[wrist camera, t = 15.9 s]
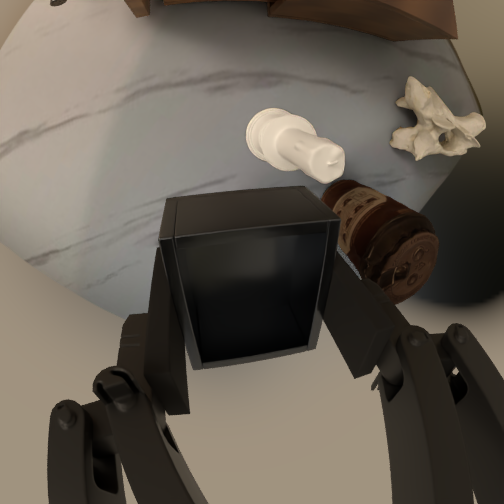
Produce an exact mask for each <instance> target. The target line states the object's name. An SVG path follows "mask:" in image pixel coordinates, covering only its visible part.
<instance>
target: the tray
mask: <svg viewBox="0 0 504 504" xmlns="http://www.w3.org/2000/svg"><path fill="white" fill-rule="evenodd" d="M340 225H341V218H340V217H339V216H338V215H337V214H336V213H334V212H333V211H332V210H331V209H330V208H329V207H328V206H327V205H326V204H325V203H323V202H322V201H321V200H320V199H319V198H318V197H317V196H316V195H314V194H313V193H312V192H311V191H310V190H309V189H308V188H306V187H305V186H290V187H274V188H260V189H248V190H236V191H226V192H216V193H207V194H198V195H189V196H181V197H173V198H167V199H166V203H165V207H164V212H163V217H162V222H161V227H160V232H159V238H158V241H159V246H160V251H161V255H162V260H163V264H164V269H165V273H166V277H167V281H168V285H169V289H170V292H171V296H172V300H173V303H174V307H175V311H176V314H177V318H178V322H179V325H180V329H181V332H182V335H183V339H184V342H185V346H186V349H187V353H188V356H189V359H190V362H191V365H192V368H193V370H200V369H203V368H204V369H209V368H216V367H224V366H230V365H237V364H243V363H249V362H255V361H260V360H266V359H271V358H276V357H281V356H286V355H291V354H295V353H300V352H304V351H306V350H307V351H309V350H313V349H316V345H317V341H318V337H319V333H320V329H321V325H322V320H323V316H324V312H325V307H326V302H327V298H328V293H329V288H330V283H331V278H332V273H333V267H334V262H335V256H336V250H337V244H338V238H339V232H340Z"/></svg>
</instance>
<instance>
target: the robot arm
mask: <svg viewBox="0 0 504 504" xmlns="http://www.w3.org/2000/svg"><path fill="white" fill-rule="evenodd" d="M323 320H324V322H325V324H326V326H327V328H328V330H329V331H330V333H331V335H332V337H333V339H334V341H335V343H336V345H337V346H338V348H339V350H340V352H341V354H342V356H343V358H344V360H345V361H346V363H347V365H348V367H349V369H350V371H351V373H352V375H353V377H354V379H356V378H358V377H361V376H364V375H367V374H370V373H371V372H372V370H373V369H374V367H375V365H377V366H378V368H379V370H380V372H379V373H378V375H377V377H376V379H375V380H374V382H373V384H372V386H371V390H374V389H375V388H376V386H377V384H378V390H379V392H380V397H381V402H382V408H383V415H384V421H385V428H386V435H387V443H388V451H389V459H390V471H391V484H392V501H393V504H474V500H473V491H474V494H475V497H476V500H477V503H478V504H504V380H503V378H502V376H501V375H500V373H499V372H498V370H497V368H496V367H495V365H494V364H493V362H492V361H491V359H490V358H489V356H488V355H487V354H486V352H485V351H484V349H483V348H482V346H481V345H480V344H479V342H478V341H477V339H476V338H475V337H474V335H473V334H472V333H471V332H470V330H469V329H468V328H467V327H465V326H464V325H462V324H458V323H455V324H451V325H450V326H449V327H448V329H447V330H446V332H445V333H440V334H429V333H428V332H427V331H426V330H425V329H424V328H421V327H419V326H413V325H410V324H409V323H408V321H407V320H406V319H405V317H404V316H403V315H402V314H401V312H400V311H399V310H398V309H397V307H396V306H395V305H394V303H393V302H392V301H390V298H389V297H388V296H387V295H385V292H384V291H383V290H382V289H381V288H380V286H379V285H378V284H376V283H375V282H373V281H372V280H370V279H369V278H367V279H362V280H360V279H359V277H358V276H357V275H356V274H355V272H354V271H353V270H352V269H351V268H350V266H349V265H348V264H347V263H346V261H345V260H344V259H343V258H342V257H341V255H340V254H339V253H338V252H337V251H336V256H335V262H334V267H333V273H332V278H331V283H330V288H329V293H328V298H327V302H326V307H325V312H324V316H323ZM456 367H457V369H458V371H459V372H458V374H457V375H455V374H453V373H452V371H453V370H454V369H455V368H456ZM93 392H94V393H95V395H96V396H97V397H98V398H99V399H100V400H98V401H95V402H92V403H89V404H85V405H82V406H81V405H80V404H78V403H77V402H75V401H73V400H63V401H61V402H59V403H57V404H56V405H55V407H54V408H53V409H52V412H51V416H50V424H49V437H48V459H47V460H48V461H47V462H48V463H47V467H48V468H47V475H48V476H47V477H48V498H49V504H126V498H125V491H124V484H123V476H122V466H121V462H122V465H123V468H124V471H125V473H126V476H127V479H128V481H129V484H130V486H131V489H132V491H133V493H134V496H135V498H136V500H137V502H138V504H208V502H207V500H206V499H205V497H204V495H203V493H202V492H201V490H200V488H199V487H198V485H197V483H196V481H195V479H194V477H193V476H192V474H191V472H190V470H189V468H188V466H187V464H186V462H185V460H184V458H183V456H182V454H181V452H180V450H179V448H178V446H177V444H176V442H175V439H174V437H173V435H172V432H171V430H170V428H169V426H168V425H167V423H166V418H165V411H166V412H167V414H168V415H181V414H190V409H189V398H188V386H187V375H186V360H185V342H184V339H183V335H182V332H181V329H180V325H179V322H178V318H177V314H176V311H175V307H174V303H173V300H172V296H171V292H170V289H169V285H168V281H167V277H166V273H165V269H164V264H163V260H162V255H161V251H160V247H158V248H157V251H156V257H155V263H154V270H153V277H152V284H151V292H150V300H149V308H148V313H142V314H132V315H129V316H128V318H127V320H126V321H125V323H124V324H123V327H122V334H121V339H120V348H119V353H118V360H117V366H111V367H108V368H106V369H104V370H102V371H101V372H100V373H99V374H98V375H97V376H96V378H95V380H94V382H93Z"/></svg>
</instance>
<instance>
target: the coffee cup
mask: <svg viewBox="0 0 504 504" xmlns="http://www.w3.org/2000/svg"><path fill="white" fill-rule="evenodd" d="M321 201H322V202H323V203H325V204H326V205H327V206H328V207H329V208H330V209H331V210H332V211H333V212H334V213H336V214H337V215H338V216H339V217H340V218H341V225H340V232H339V238H338V244H339V246H340V248H341V249H342V251H343V252H344V253H345V254H346V255H347V256H348V258H349V259H350V261H351V262H352V263H353V264H354V266H355V267H356V269H357V270H358V271H359V274H360V276H361V278H362V279H367V278H369V279H370V280H372V281H373V282H375V283H376V284H378V285H379V286H380V288H381V289H382V290H383V291H384V292H385V295H387V296H388V297H389V298H390V301H392V302H393V303H394V305H395V304H398V303H400V302H403V301H404V300H406V299H408V298H409V297H411V296H412V295H414V294H415V293H416V292H417V291H418V290H419V289H420V288H421V287H422V286H423V285H424V284H425V282H426V281H427V280H428V278H429V276H430V274H431V273H432V271H433V268H434V266H435V264H436V260H437V253H438V248H439V241H438V237H437V236H436V235H435V230H434V228H433V226H432V223H431V222H430V221H429V220H428V219H427V218H426V217H425V216H424V215H422V214H420V213H418V212H416V211H414V210H412V209H410V208H408V207H407V206H405V205H403V204H402V203H399V202H397V201H396V200H394V199H392V198H391V197H388V196H386V195H384V194H381V193H379V192H378V191H376V190H374V189H372V188H370V187H367V186H365V185H361V184H359V183H358V182H356V181H354V180H340V181H337V182H336V183H334V184H333V185H331V186H330V187H329V188H328V189H327V190H326V191H325V193H324V194H323V196H322V198H321Z"/></svg>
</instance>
